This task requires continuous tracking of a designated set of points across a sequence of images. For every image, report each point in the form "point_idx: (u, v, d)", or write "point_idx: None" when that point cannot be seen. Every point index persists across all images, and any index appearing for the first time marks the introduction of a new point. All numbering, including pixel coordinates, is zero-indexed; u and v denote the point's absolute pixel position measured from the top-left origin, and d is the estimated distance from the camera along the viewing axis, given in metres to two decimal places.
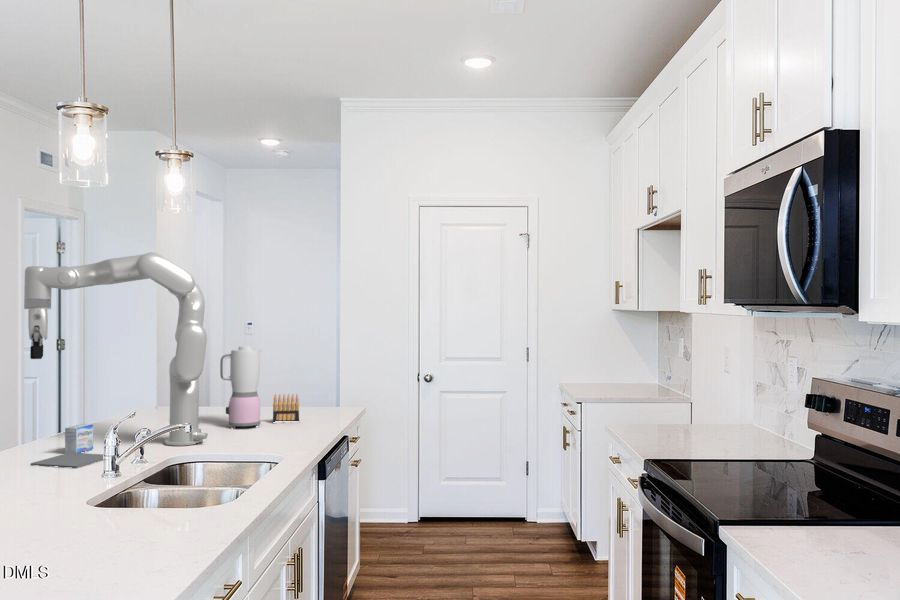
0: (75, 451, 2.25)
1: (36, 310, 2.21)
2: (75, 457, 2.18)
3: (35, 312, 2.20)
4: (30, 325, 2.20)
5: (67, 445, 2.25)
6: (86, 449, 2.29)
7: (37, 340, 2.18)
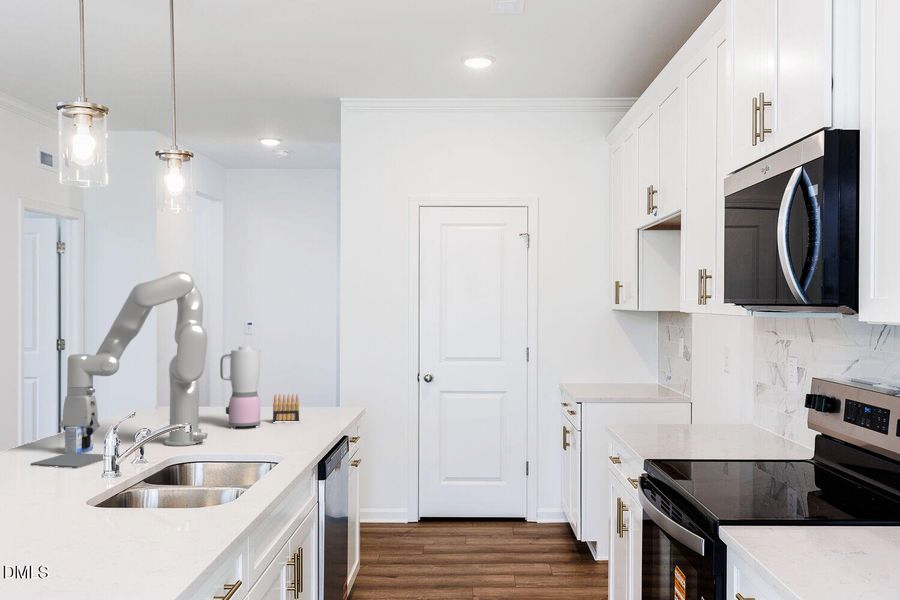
0: (75, 451, 2.25)
1: (90, 397, 2.28)
2: (75, 457, 2.18)
3: (91, 400, 2.28)
4: (88, 413, 2.26)
5: (67, 445, 2.25)
6: (86, 449, 2.29)
7: (94, 430, 2.28)
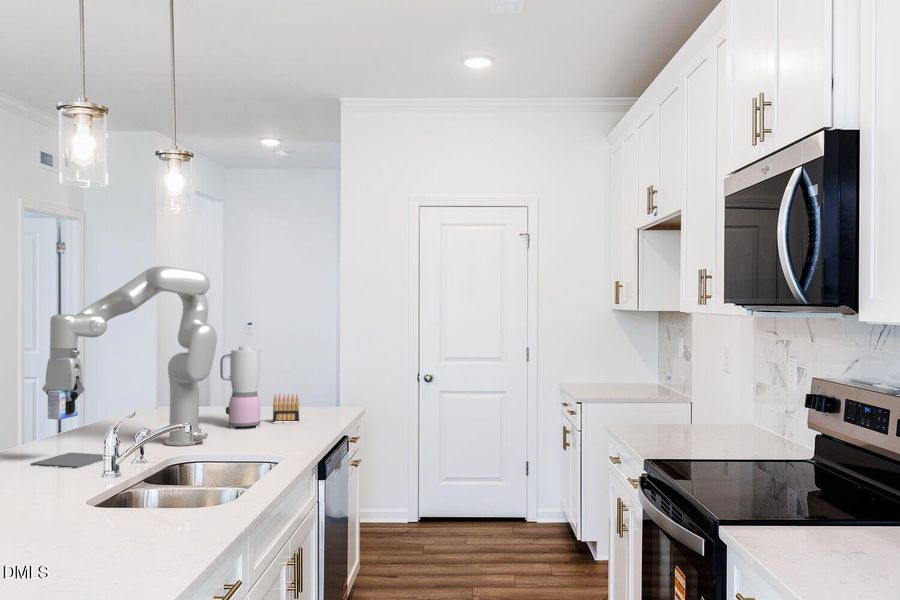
0: (58, 416, 2.12)
1: (75, 360, 2.15)
2: (75, 457, 2.18)
3: (75, 362, 2.15)
4: (72, 376, 2.14)
5: (50, 409, 2.13)
6: (70, 414, 2.17)
7: (78, 394, 2.16)
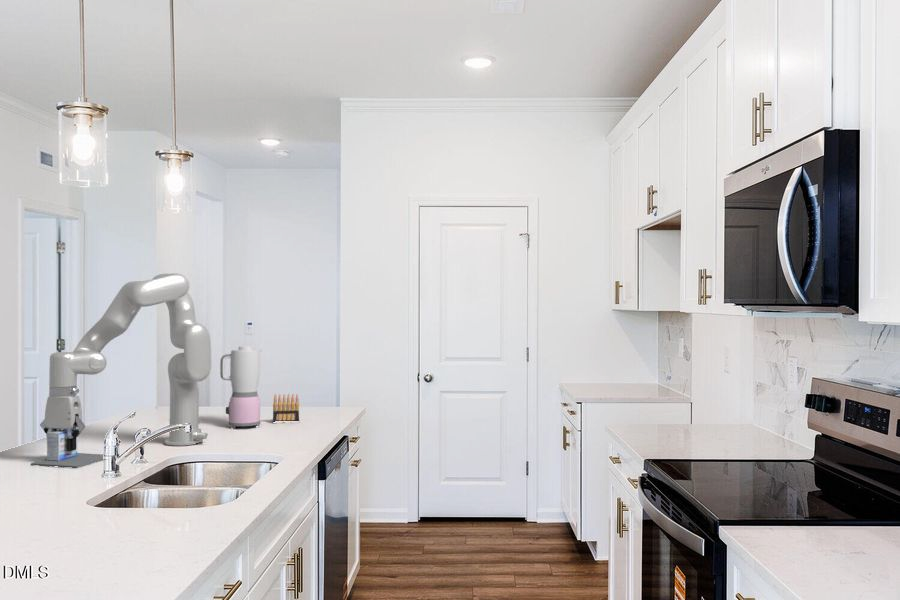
0: (57, 458, 2.12)
1: (74, 398, 2.15)
2: (75, 457, 2.18)
3: (74, 400, 2.15)
4: (71, 414, 2.14)
5: (49, 451, 2.13)
6: (69, 455, 2.17)
7: (80, 431, 2.16)
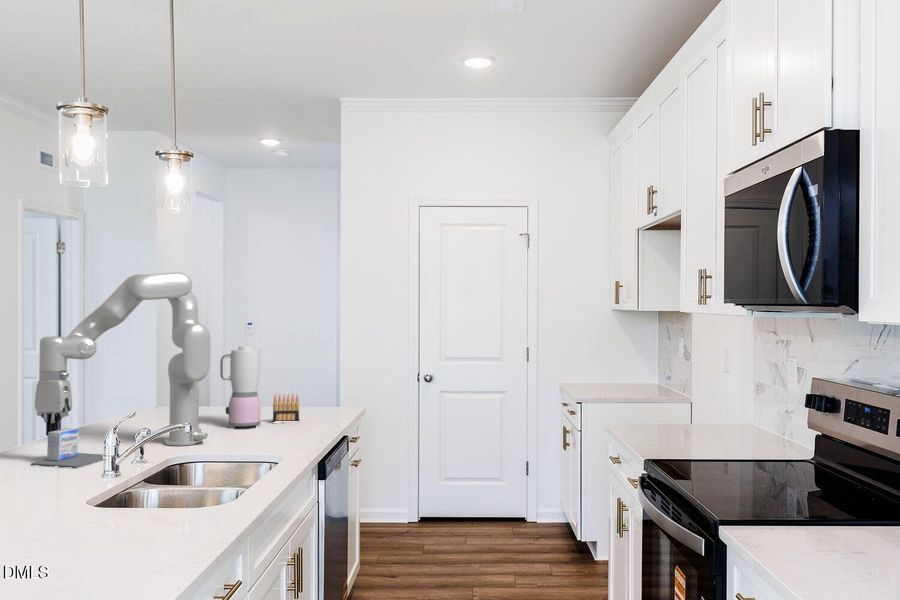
0: (57, 457, 2.12)
1: (64, 382, 2.16)
2: (75, 457, 2.18)
3: (64, 384, 2.16)
4: (61, 398, 2.14)
5: (49, 450, 2.13)
6: (70, 455, 2.17)
7: (61, 417, 2.17)
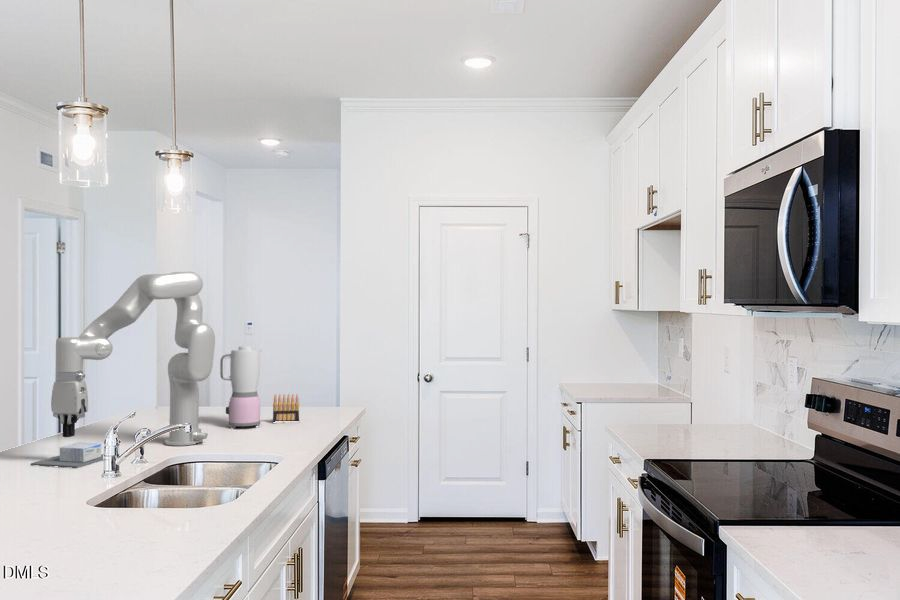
0: (61, 459, 2.12)
1: (80, 383, 2.15)
2: None
3: (80, 385, 2.15)
4: (78, 399, 2.13)
5: (67, 450, 2.12)
6: None
7: None
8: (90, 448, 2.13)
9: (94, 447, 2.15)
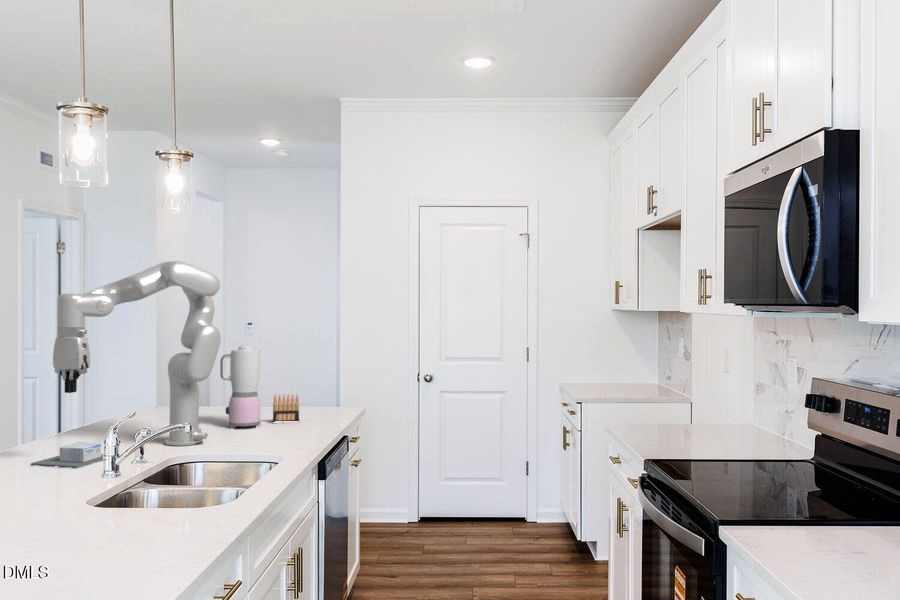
0: (61, 459, 2.12)
1: (82, 339, 2.16)
2: None
3: (82, 341, 2.15)
4: (80, 355, 2.14)
5: (67, 450, 2.12)
6: None
7: (80, 374, 2.17)
8: (90, 448, 2.13)
9: (94, 447, 2.15)
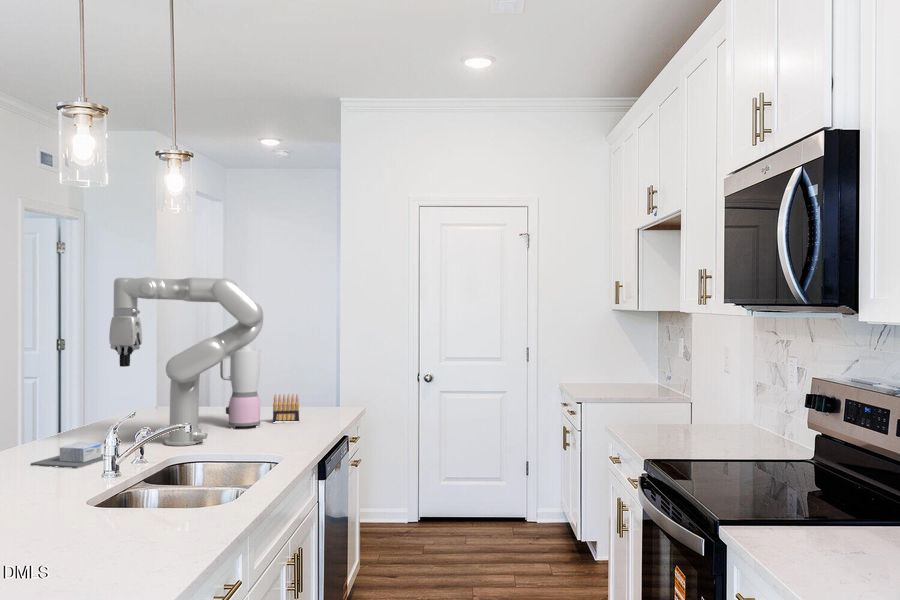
0: (61, 459, 2.12)
1: (135, 318, 2.41)
2: None
3: (136, 320, 2.40)
4: (134, 332, 2.39)
5: (67, 450, 2.12)
6: None
7: (133, 349, 2.41)
8: (90, 448, 2.13)
9: (94, 447, 2.15)
